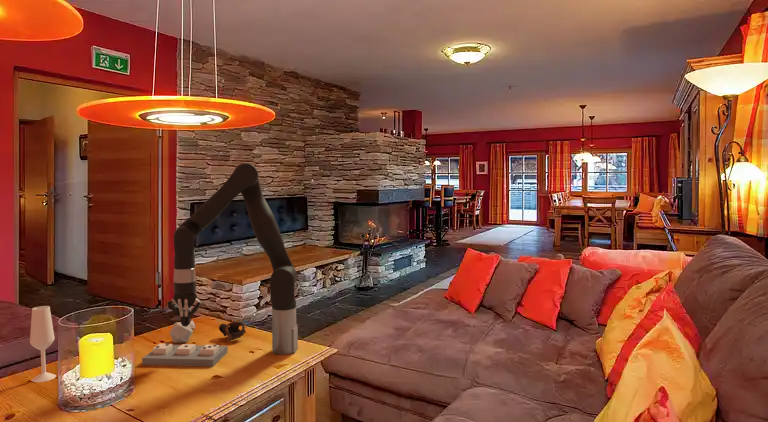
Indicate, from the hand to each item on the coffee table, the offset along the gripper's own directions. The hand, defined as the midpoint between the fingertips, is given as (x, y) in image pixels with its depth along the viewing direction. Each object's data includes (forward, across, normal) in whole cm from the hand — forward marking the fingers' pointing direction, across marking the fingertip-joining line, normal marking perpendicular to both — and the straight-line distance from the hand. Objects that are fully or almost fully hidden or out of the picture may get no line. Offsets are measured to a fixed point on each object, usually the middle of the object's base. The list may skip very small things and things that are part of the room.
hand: (185, 325), depth 178 cm
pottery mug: (+13, -9, -23) cm, 28 cm away
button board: (+12, 0, 0) cm, 12 cm away
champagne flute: (+13, +39, +20) cm, 46 cm away
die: (+13, +10, -18) cm, 24 cm away
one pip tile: (+11, 0, 0) cm, 11 cm away
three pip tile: (+11, -9, 0) cm, 14 cm away
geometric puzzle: (+13, +12, -28) cm, 33 cm away
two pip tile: (+11, +9, 0) cm, 14 cm away
